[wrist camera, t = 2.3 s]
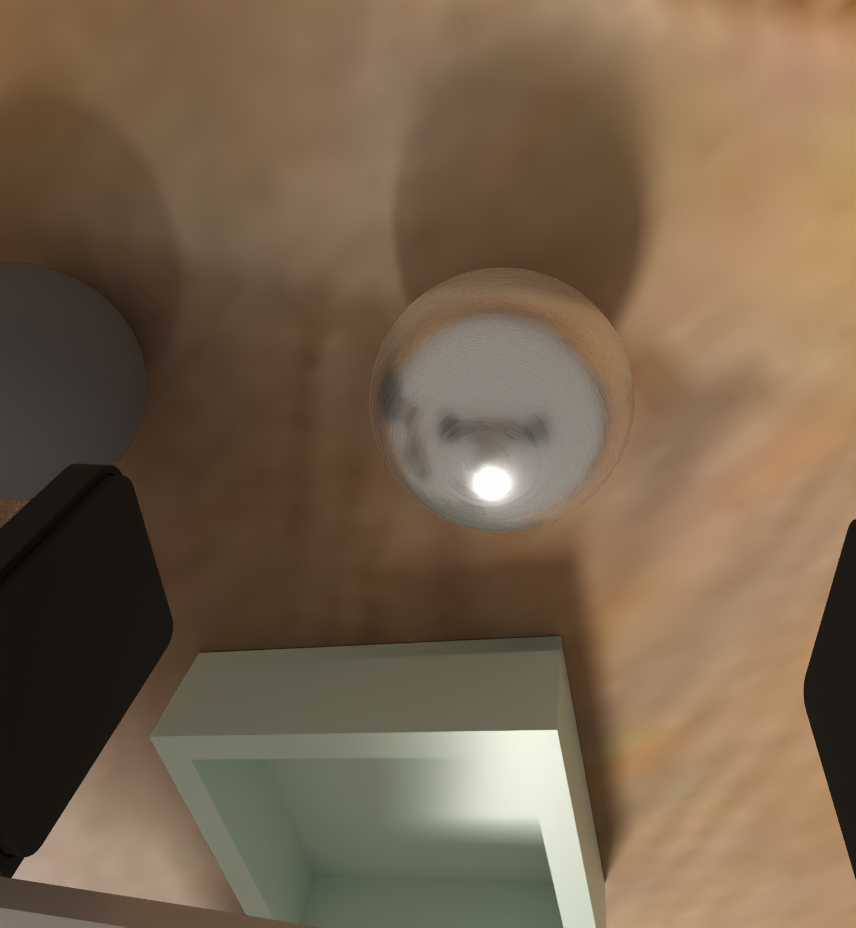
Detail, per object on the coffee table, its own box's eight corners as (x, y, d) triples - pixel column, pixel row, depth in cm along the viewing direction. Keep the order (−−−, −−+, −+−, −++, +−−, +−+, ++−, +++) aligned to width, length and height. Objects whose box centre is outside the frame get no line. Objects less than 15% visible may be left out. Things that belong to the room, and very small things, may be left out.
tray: (604, 884, 28) (607, 987, 26) (302, 874, 32) (273, 965, 29) (560, 635, 23) (557, 729, 20) (198, 653, 26) (148, 736, 23)
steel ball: (638, 439, 19) (655, 577, 15) (424, 462, 21) (379, 595, 16) (614, 216, 17) (627, 297, 12) (374, 259, 18) (302, 347, 14)
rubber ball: (214, 420, 21) (110, 537, 17) (45, 442, 23) (-95, 556, 18) (136, 216, 19) (-13, 287, 14) (-49, 256, 20) (-242, 332, 15)
